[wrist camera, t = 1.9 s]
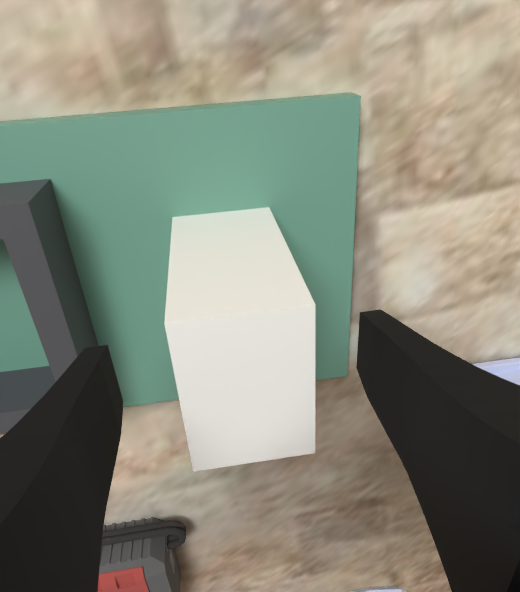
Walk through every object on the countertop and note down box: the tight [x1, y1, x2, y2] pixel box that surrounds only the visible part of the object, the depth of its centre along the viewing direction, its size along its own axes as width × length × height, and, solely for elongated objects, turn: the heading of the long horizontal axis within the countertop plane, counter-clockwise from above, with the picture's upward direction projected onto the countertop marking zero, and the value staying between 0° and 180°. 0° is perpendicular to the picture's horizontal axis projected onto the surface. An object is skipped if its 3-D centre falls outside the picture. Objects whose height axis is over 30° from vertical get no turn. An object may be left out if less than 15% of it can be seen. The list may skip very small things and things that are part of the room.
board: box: [0, 93, 361, 434], centre depth 17 cm, size 20×12×4 cm, turn 93°
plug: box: [164, 207, 315, 472], centre depth 15 cm, size 4×5×7 cm
